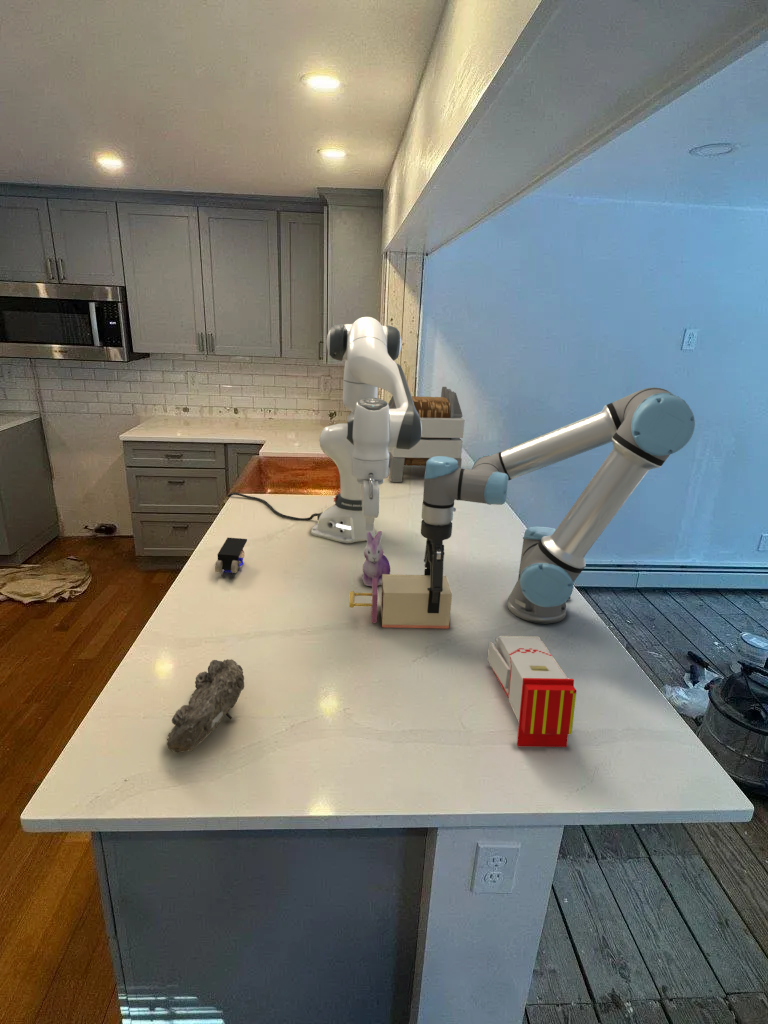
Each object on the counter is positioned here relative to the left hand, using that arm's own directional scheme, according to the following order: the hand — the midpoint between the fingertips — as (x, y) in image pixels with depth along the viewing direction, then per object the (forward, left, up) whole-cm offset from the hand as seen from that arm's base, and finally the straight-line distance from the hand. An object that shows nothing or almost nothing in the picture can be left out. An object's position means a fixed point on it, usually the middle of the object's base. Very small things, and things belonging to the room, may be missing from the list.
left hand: (368, 522), depth 139 cm
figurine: (-3, +18, -25) cm, 31 cm away
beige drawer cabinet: (+13, +2, -25) cm, 28 cm away
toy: (+41, -23, -25) cm, 53 cm away
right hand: (+16, +3, -20) cm, 26 cm away
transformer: (-16, +136, -25) cm, 139 cm away
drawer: (+7, 0, -24) cm, 25 cm away
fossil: (-15, -48, -25) cm, 56 cm away
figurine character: (-44, +10, -25) cm, 52 cm away
